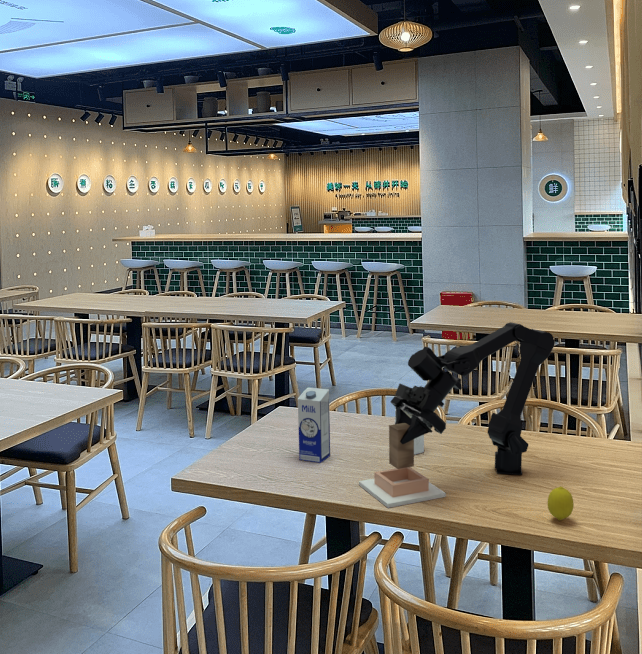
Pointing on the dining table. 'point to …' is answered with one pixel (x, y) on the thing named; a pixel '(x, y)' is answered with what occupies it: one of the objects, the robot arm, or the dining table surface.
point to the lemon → (560, 503)
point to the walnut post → (400, 447)
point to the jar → (416, 441)
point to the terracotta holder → (401, 487)
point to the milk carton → (314, 425)
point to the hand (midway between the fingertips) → (396, 440)
